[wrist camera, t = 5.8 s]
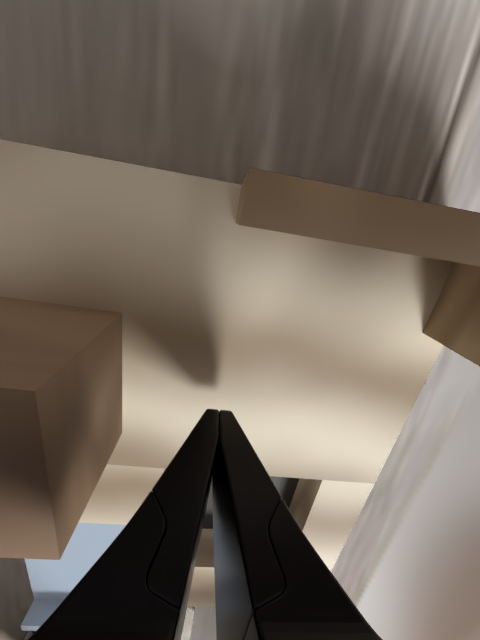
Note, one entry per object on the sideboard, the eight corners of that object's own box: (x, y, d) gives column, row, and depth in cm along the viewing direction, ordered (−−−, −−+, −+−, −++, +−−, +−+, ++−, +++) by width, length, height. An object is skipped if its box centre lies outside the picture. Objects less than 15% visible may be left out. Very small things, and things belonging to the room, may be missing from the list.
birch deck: (303, 567, 17) (327, 676, 13) (54, 558, 16) (-8, 680, 12) (447, 230, 10) (614, 239, 6) (-14, 144, 8) (-275, 64, 4)
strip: (160, 567, 17) (148, 631, 14) (55, 563, 16) (21, 630, 13) (167, 488, 14) (154, 549, 11) (41, 480, 13) (-4, 542, 11)
